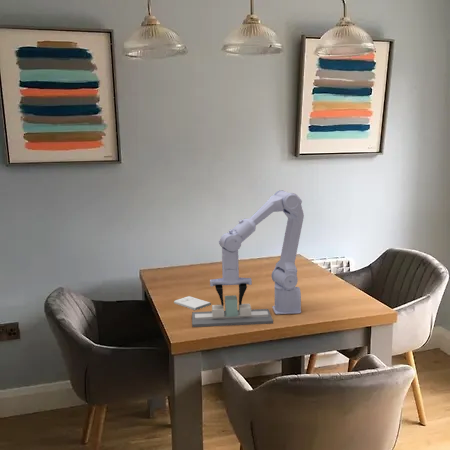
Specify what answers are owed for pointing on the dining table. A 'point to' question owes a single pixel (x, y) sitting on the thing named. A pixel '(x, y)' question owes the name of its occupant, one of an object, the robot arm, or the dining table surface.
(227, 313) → the block
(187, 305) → the external hard drive
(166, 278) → the dining table surface
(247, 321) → the rail board
